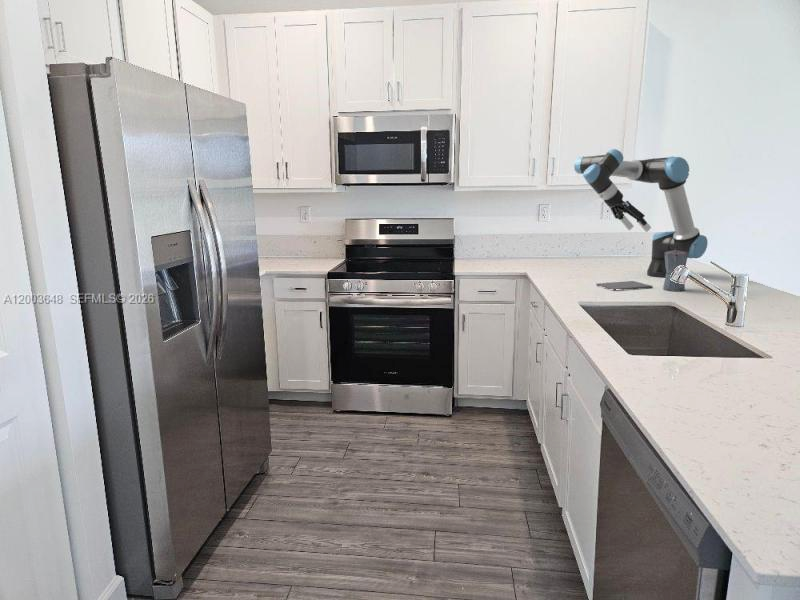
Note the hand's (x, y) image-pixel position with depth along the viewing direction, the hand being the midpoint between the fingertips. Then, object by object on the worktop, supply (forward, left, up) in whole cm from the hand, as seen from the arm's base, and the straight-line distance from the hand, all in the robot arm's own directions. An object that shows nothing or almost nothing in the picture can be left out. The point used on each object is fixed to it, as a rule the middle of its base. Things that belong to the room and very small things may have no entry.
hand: (639, 229), depth 234 cm
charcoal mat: (-1, -12, -28) cm, 31 cm away
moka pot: (-17, +2, -29) cm, 34 cm away
